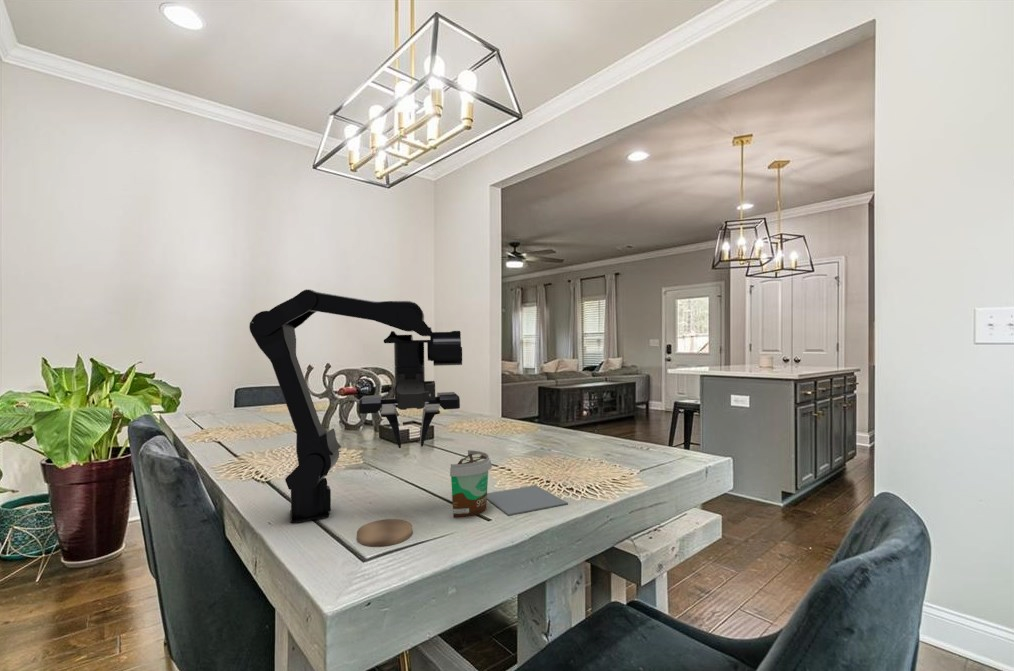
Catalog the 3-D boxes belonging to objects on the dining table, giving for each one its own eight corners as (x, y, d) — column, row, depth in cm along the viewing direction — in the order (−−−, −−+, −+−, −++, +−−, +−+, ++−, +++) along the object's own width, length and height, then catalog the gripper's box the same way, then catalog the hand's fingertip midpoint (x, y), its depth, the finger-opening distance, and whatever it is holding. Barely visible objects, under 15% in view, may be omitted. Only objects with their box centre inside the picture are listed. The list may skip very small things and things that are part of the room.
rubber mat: (508, 515, 87) (508, 514, 87) (481, 495, 98) (481, 494, 98) (568, 504, 92) (568, 502, 92) (535, 486, 104) (535, 485, 104)
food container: (483, 522, 84) (482, 466, 84) (450, 520, 85) (449, 465, 85) (498, 499, 96) (497, 450, 96) (469, 498, 97) (468, 449, 97)
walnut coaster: (361, 550, 73) (361, 544, 73) (353, 530, 81) (353, 524, 81) (418, 539, 77) (418, 533, 77) (405, 521, 85) (405, 515, 85)
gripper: (356, 370, 81) (357, 460, 81) (463, 366, 86) (464, 452, 86) (360, 367, 92) (361, 447, 92) (455, 364, 97) (456, 440, 96)
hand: (410, 447), depth 91 cm, fingers open, 4 cm apart
